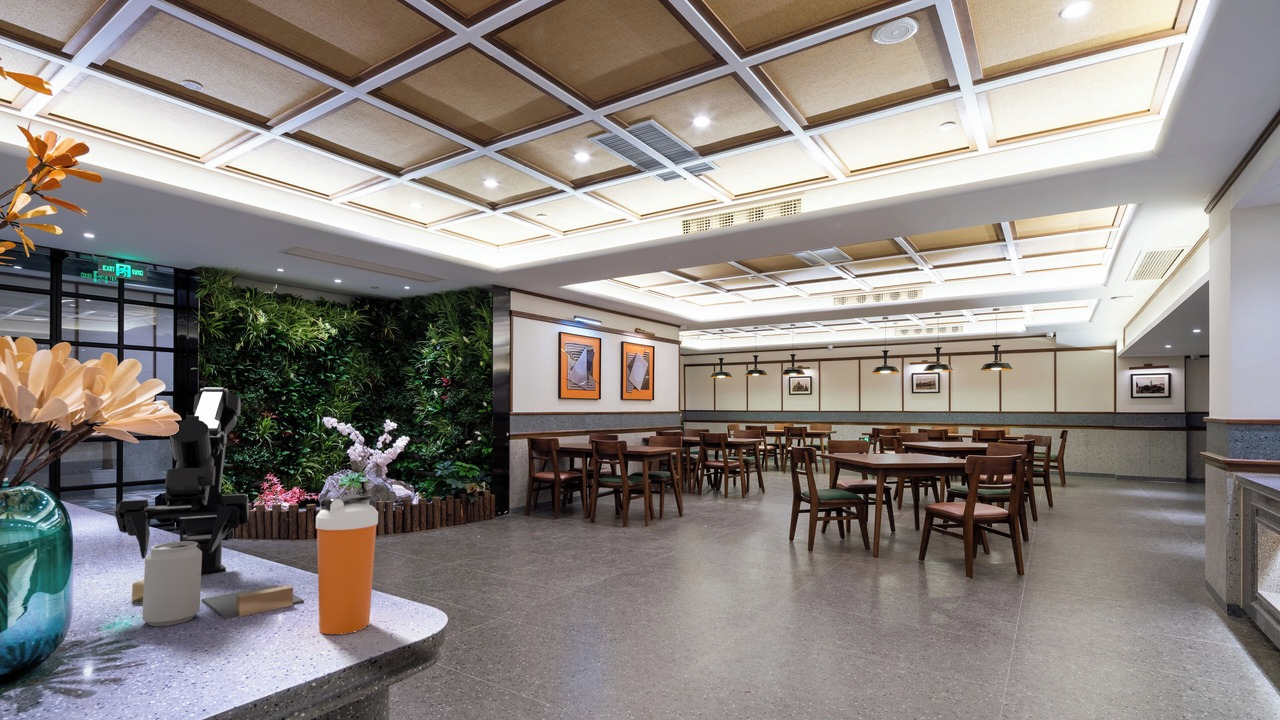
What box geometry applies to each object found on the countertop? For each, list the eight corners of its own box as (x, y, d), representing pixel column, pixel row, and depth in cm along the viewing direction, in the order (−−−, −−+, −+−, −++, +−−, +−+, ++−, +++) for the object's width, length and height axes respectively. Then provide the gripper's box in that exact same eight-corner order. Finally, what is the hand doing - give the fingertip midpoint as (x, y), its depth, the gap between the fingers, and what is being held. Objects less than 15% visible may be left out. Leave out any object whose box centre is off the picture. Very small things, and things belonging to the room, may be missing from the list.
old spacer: (130, 598, 117) (130, 581, 117) (164, 593, 120) (165, 576, 120) (133, 605, 113) (134, 587, 113) (168, 599, 116) (169, 582, 117)
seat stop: (236, 613, 108) (236, 595, 108) (288, 603, 114) (288, 585, 114) (239, 616, 106) (240, 597, 107) (292, 605, 112) (293, 587, 112)
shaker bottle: (387, 624, 102) (390, 495, 104) (333, 642, 95) (337, 502, 96) (354, 614, 107) (357, 491, 109) (300, 630, 100) (304, 497, 101)
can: (210, 613, 108) (213, 539, 109) (173, 628, 101) (177, 549, 102) (168, 611, 109) (171, 538, 110) (129, 627, 102) (133, 548, 102)
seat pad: (201, 600, 115) (201, 598, 115) (276, 587, 124) (276, 584, 124) (224, 618, 105) (224, 616, 105) (303, 602, 114) (303, 599, 114)
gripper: (121, 452, 110) (97, 529, 99) (249, 448, 118) (240, 519, 107) (130, 494, 117) (109, 571, 106) (252, 488, 125) (243, 558, 114)
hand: (177, 554), depth 108 cm, fingers open, 9 cm apart
